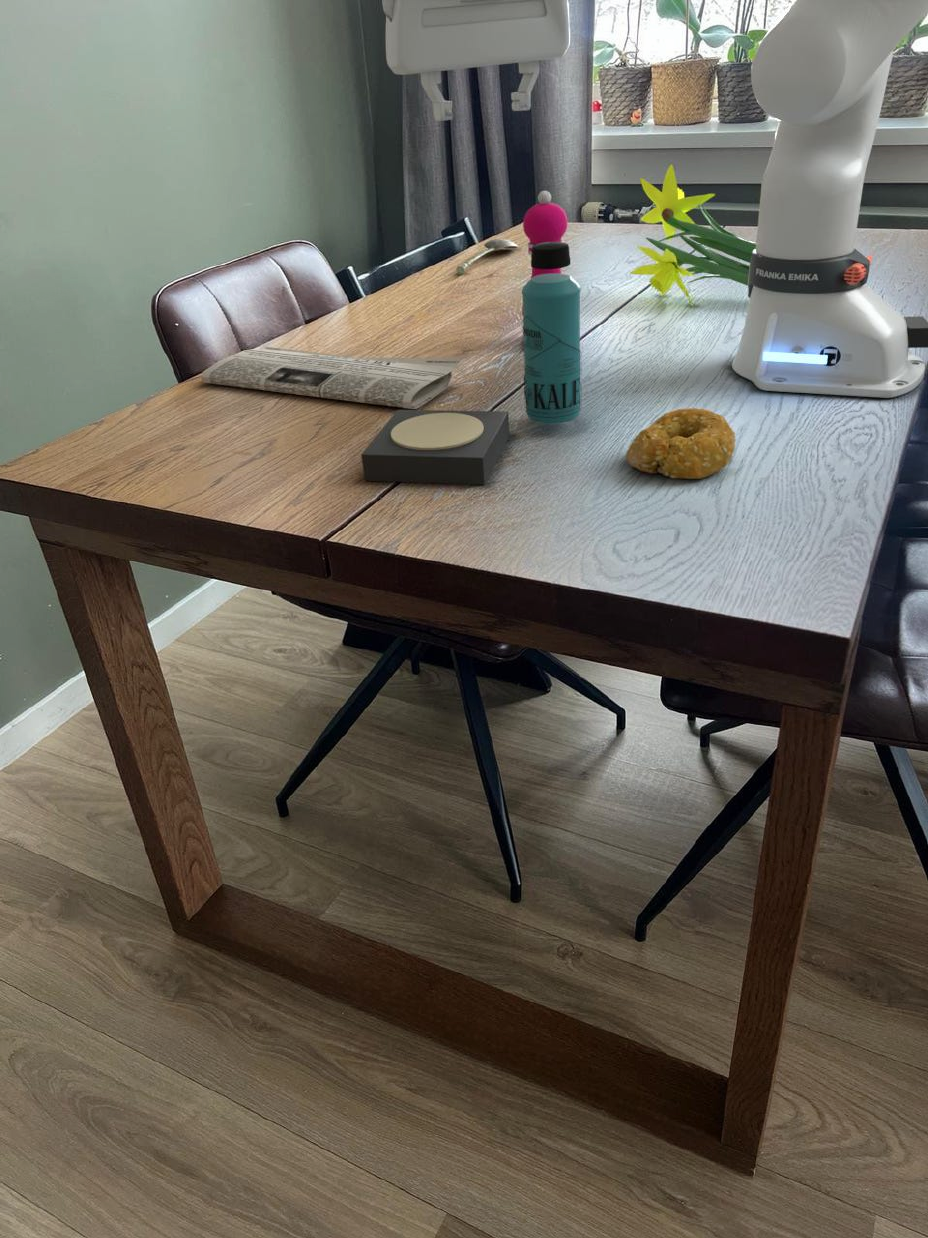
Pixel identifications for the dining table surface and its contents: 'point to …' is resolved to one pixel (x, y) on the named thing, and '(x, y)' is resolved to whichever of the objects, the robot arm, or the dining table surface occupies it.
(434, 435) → the display stand
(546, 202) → the pepper mill
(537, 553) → the dining table surface
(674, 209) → the daffodil flowers
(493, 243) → the soupspoon
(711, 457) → the bagel
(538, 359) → the beverage bottle
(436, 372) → the newspaper
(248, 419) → the dining table surface
